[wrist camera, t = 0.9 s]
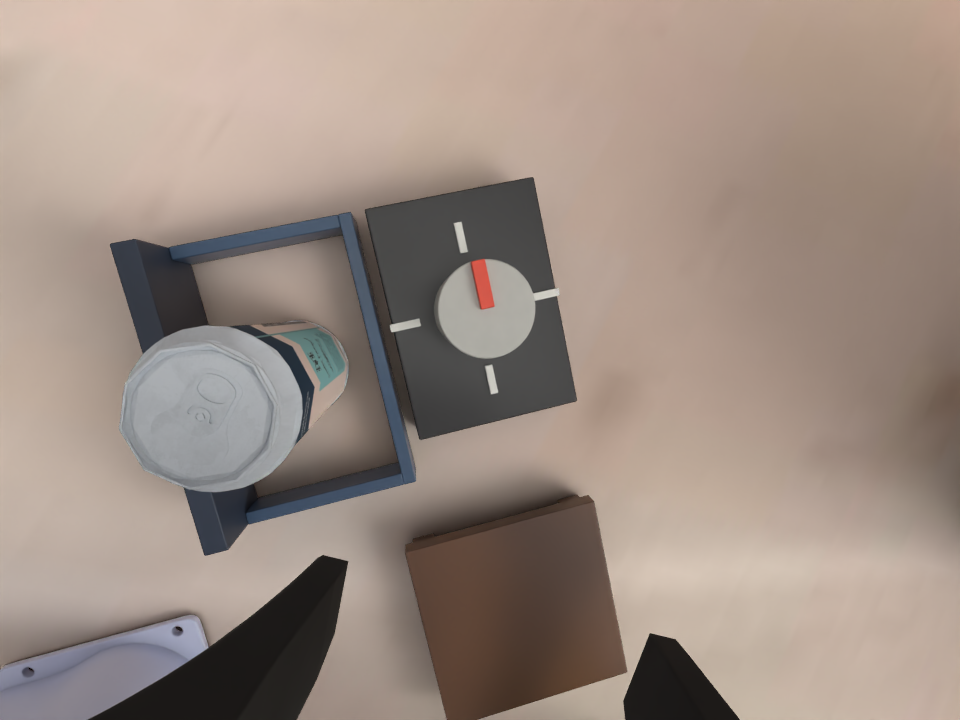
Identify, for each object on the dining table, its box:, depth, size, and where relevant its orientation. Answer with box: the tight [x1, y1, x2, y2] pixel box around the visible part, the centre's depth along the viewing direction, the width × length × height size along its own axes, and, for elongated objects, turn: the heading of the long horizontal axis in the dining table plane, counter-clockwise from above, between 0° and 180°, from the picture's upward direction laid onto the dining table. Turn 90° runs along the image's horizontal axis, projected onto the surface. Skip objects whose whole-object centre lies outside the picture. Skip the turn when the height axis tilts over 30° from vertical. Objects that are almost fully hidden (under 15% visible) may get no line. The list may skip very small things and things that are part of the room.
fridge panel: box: [365, 177, 577, 440], centre depth 24 cm, size 11×8×3 cm
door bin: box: [110, 212, 416, 556], centre depth 22 cm, size 9×13×4 cm
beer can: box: [119, 320, 349, 492], centre depth 19 cm, size 5×5×12 cm
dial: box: [434, 259, 535, 359], centre depth 21 cm, size 4×4×4 cm
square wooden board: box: [405, 495, 627, 720], centre depth 26 cm, size 10×10×2 cm
